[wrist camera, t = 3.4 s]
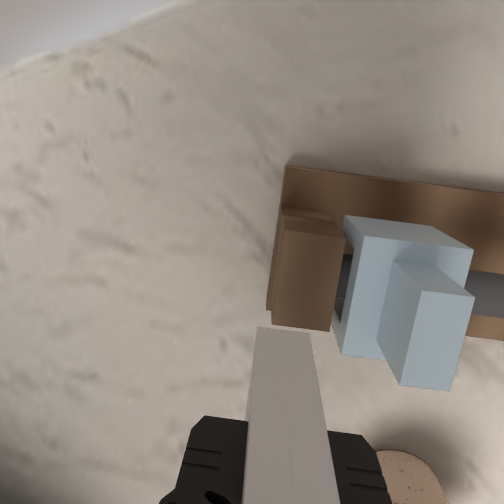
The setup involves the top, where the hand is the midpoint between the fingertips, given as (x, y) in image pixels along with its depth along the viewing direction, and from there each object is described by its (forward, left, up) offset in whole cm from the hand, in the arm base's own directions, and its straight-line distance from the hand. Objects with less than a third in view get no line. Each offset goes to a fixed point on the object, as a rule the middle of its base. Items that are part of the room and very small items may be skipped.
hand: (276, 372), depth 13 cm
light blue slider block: (+6, 0, -14) cm, 15 cm away
